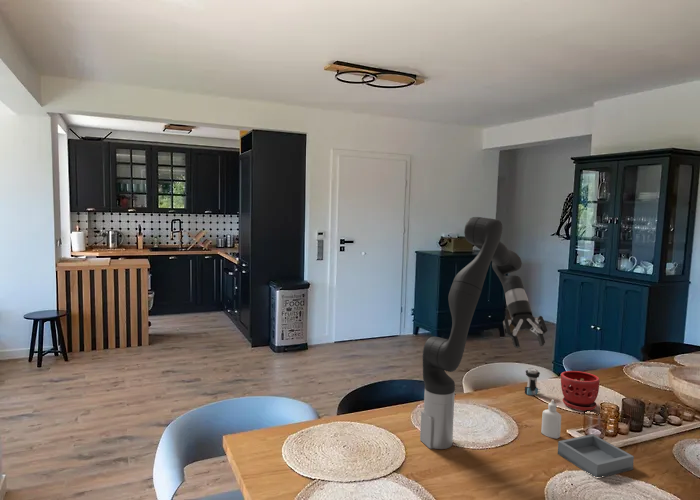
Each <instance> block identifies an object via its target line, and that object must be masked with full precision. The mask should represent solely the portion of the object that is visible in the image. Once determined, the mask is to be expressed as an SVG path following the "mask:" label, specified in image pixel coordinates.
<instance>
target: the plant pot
mask: <svg viewBox="0 0 700 500" xmlns="http://www.w3.org/2000/svg"><path fill="white" fill-rule="evenodd" d="M560 387H561V392H562V395H563V398H562V402H563V404H564V405H565V406H566V407H568V408H569V407H570V409H573V410H575V411H582V412H587V411H586V410H590V411H593V410H595V409H596V408H597V405H598V404H597V403H596V400H597V398H598V395H599V392H600V377H599V376H597V375H595V374H593V373H589V372H586V371H585V372H584V371H578V370H568V371H563V372H561V374H560Z"/></svg>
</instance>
